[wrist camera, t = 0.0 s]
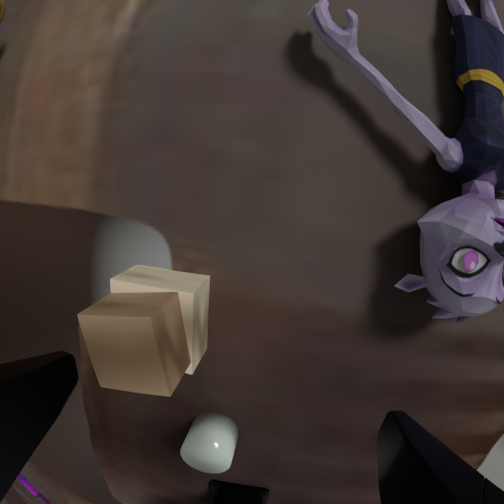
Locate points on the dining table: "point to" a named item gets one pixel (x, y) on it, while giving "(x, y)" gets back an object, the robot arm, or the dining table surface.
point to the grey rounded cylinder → (210, 443)
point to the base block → (190, 296)
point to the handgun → (32, 489)
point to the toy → (453, 162)
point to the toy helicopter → (2, 10)
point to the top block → (137, 341)
